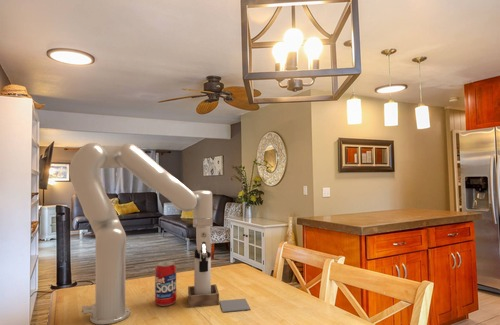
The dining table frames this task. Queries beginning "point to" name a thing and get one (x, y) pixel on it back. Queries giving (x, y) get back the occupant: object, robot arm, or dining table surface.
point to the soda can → (165, 283)
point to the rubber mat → (234, 305)
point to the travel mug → (202, 276)
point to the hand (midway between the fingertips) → (203, 268)
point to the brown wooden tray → (203, 297)
